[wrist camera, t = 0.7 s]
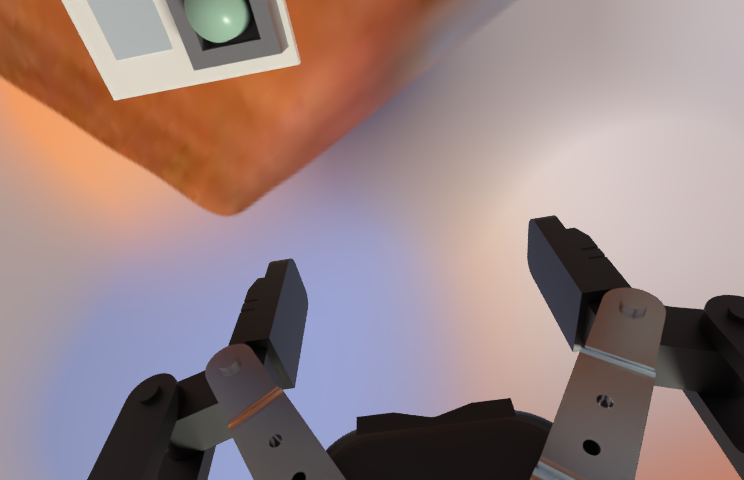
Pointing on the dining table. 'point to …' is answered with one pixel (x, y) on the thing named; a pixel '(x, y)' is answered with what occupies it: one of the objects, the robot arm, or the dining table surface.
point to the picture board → (155, 47)
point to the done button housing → (253, 43)
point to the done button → (218, 18)
